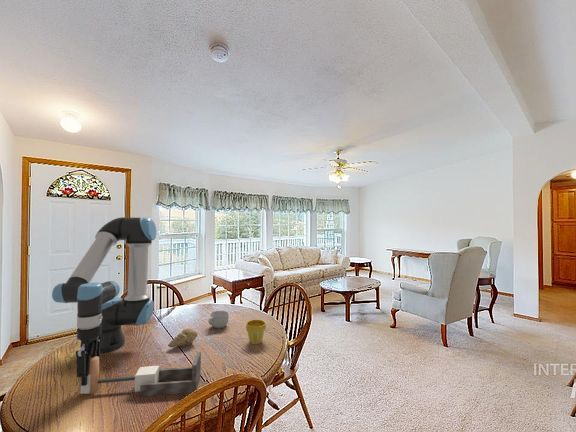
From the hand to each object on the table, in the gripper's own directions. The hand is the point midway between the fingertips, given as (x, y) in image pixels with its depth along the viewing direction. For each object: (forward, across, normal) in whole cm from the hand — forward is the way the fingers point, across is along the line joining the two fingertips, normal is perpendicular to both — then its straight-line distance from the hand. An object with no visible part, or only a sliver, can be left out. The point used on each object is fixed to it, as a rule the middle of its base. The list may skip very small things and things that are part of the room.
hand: (88, 388), depth 104 cm
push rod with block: (+1, 0, -11) cm, 11 cm away
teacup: (+2, +56, -42) cm, 70 cm away
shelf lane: (+1, 0, -29) cm, 29 cm away
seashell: (+1, +34, -26) cm, 43 cm away
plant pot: (+1, +34, -63) cm, 72 cm away
